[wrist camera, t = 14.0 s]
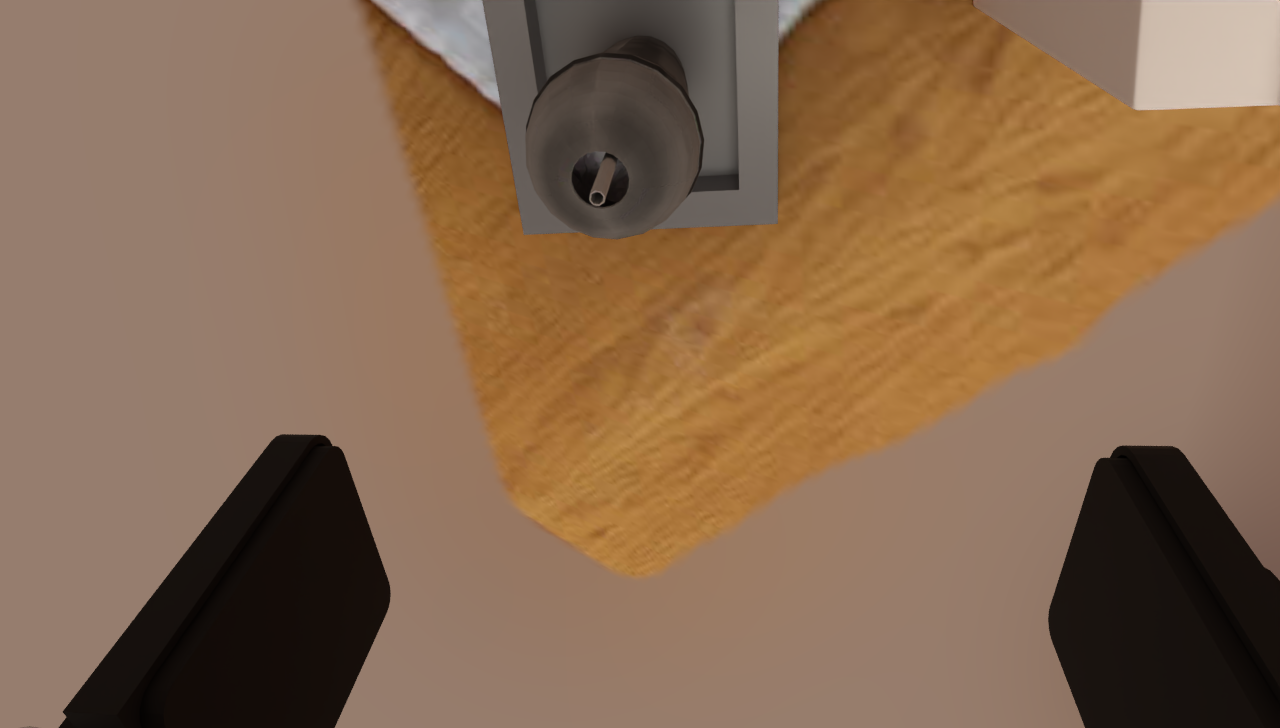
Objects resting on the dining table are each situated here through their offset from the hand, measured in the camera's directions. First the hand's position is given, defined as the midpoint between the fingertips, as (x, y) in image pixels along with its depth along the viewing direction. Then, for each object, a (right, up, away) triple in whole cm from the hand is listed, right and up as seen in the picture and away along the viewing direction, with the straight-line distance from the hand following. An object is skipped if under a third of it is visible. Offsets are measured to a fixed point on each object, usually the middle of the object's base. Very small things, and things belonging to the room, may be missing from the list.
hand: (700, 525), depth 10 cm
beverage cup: (-1, +17, +32) cm, 36 cm away
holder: (-1, +17, +32) cm, 37 cm away
